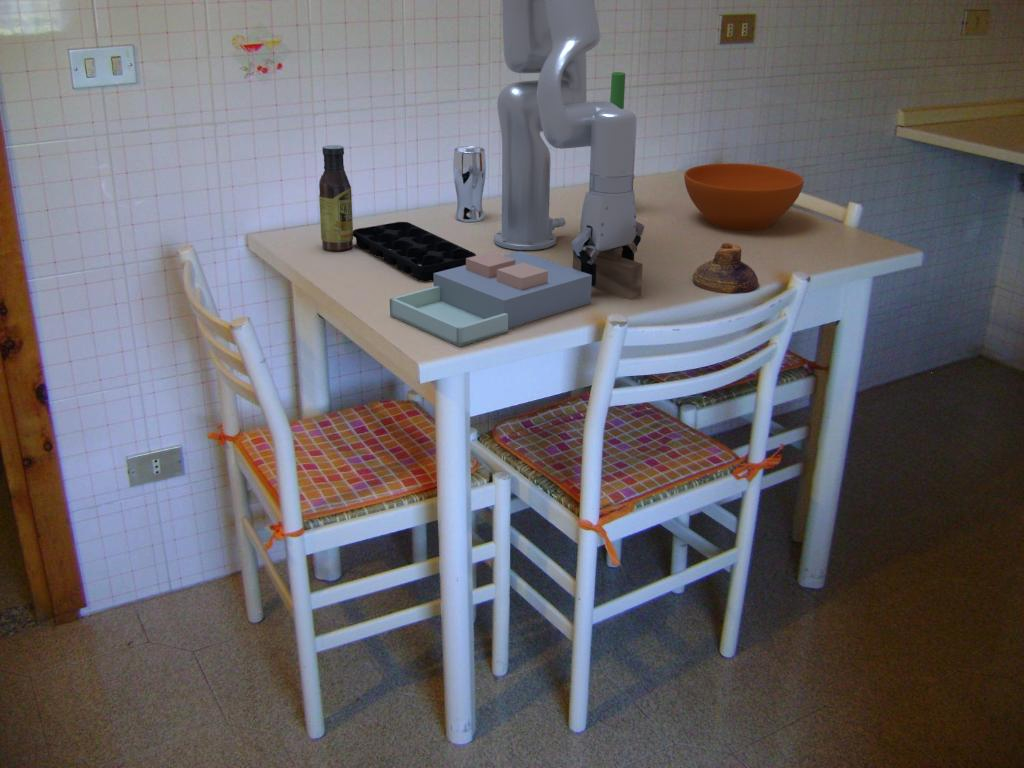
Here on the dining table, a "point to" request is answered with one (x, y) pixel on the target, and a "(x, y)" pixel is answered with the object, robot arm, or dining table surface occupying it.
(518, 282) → the tile
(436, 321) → the tray
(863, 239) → the dining table surface
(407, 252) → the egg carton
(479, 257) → the tile
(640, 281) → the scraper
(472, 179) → the beer glass
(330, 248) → the sauce bottle
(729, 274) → the bell
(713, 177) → the bowl
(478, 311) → the board
